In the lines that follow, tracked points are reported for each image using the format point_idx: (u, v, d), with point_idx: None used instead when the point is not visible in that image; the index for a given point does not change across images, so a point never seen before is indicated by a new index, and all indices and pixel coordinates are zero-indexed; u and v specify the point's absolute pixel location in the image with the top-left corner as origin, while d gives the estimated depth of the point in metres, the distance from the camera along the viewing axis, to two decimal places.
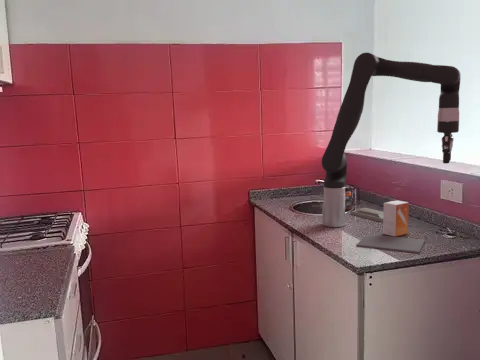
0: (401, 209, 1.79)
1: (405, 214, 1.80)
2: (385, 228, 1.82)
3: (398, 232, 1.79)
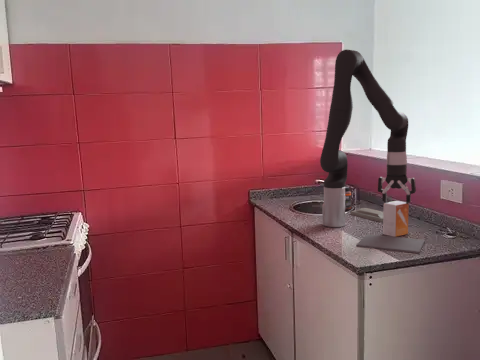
0: (401, 209, 1.79)
1: (405, 214, 1.80)
2: (385, 228, 1.82)
3: (398, 233, 1.79)
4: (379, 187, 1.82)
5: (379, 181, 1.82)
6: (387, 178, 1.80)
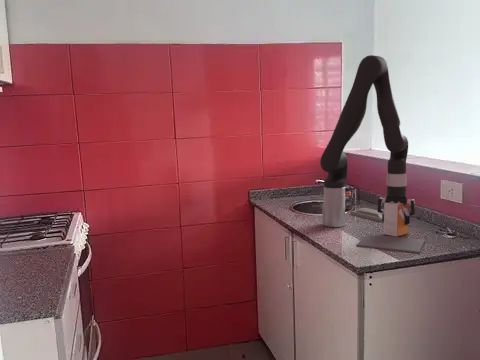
0: (402, 209, 1.78)
1: (405, 214, 1.81)
2: (386, 228, 1.82)
3: (399, 232, 1.79)
4: (379, 208, 1.84)
5: (379, 202, 1.83)
6: (387, 199, 1.82)
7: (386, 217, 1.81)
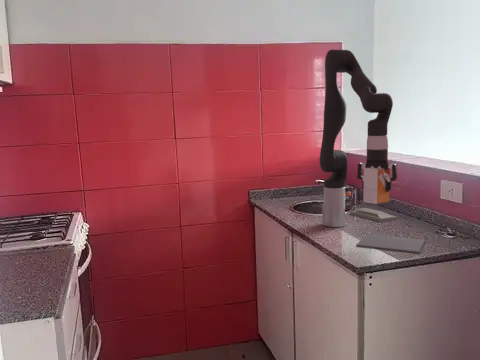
0: None
1: None
2: (366, 196, 1.69)
3: (380, 200, 1.66)
4: (359, 174, 1.71)
5: (359, 167, 1.70)
6: (367, 164, 1.69)
7: (366, 183, 1.68)
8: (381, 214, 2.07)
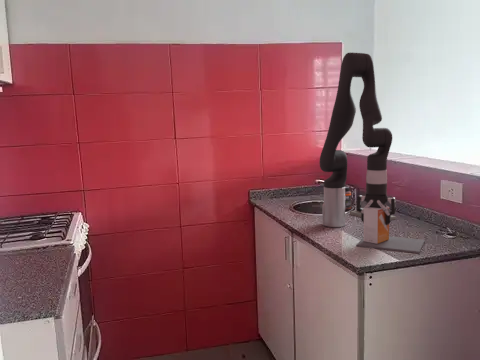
0: (382, 214, 1.68)
1: None
2: (366, 235, 1.71)
3: (380, 239, 1.68)
4: (358, 206, 1.72)
5: (358, 200, 1.72)
6: (366, 197, 1.70)
7: (366, 223, 1.70)
8: None
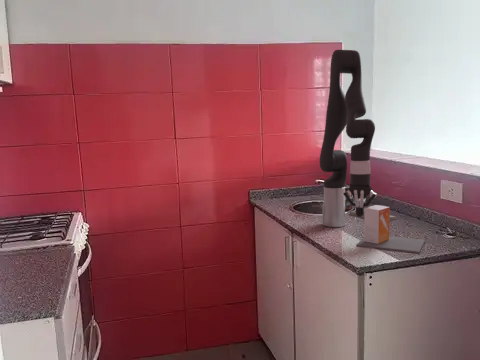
0: (383, 214, 1.68)
1: (387, 219, 1.70)
2: (366, 235, 1.70)
3: (381, 239, 1.68)
4: (350, 201, 1.73)
5: (346, 196, 1.74)
6: (350, 188, 1.73)
7: (366, 223, 1.70)
8: None
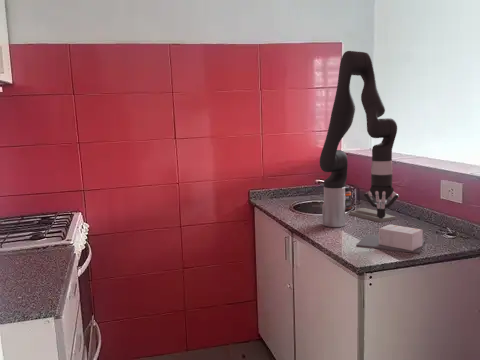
0: None
1: None
2: (384, 232, 1.65)
3: None
4: (371, 202, 1.70)
5: (367, 197, 1.70)
6: (371, 189, 1.69)
7: (396, 234, 1.61)
8: None
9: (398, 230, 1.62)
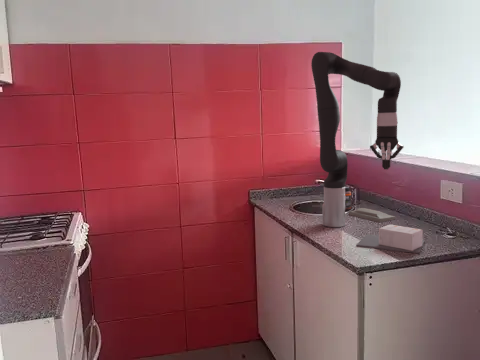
0: None
1: None
2: (384, 232, 1.65)
3: None
4: (377, 154, 1.76)
5: (372, 149, 1.76)
6: (376, 141, 1.75)
7: (396, 234, 1.61)
8: (380, 214, 2.07)
9: (398, 230, 1.62)
